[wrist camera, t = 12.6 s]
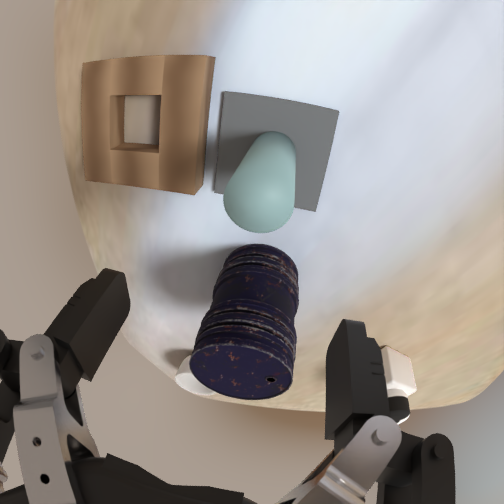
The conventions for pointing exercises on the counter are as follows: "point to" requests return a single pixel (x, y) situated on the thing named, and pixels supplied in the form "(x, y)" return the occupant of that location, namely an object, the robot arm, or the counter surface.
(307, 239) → the counter surface
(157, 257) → the counter surface
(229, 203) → the peg
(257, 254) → the storage jar
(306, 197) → the mat
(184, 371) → the teacup
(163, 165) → the pocket block
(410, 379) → the medicine bottle
